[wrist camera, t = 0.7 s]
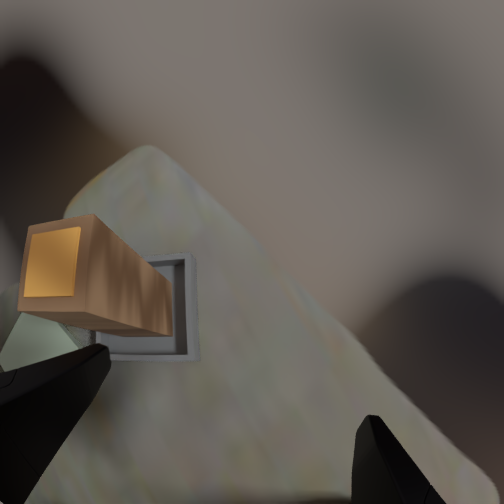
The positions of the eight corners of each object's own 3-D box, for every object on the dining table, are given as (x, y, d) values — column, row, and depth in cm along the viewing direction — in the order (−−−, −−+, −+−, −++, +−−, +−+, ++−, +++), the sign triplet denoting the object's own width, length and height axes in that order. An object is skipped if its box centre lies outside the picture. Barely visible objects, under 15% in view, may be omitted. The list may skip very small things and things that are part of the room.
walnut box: (173, 336, 23) (82, 310, 11) (124, 337, 23) (14, 309, 11) (171, 283, 25) (92, 212, 12) (124, 286, 25) (26, 224, 12)
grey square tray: (200, 360, 23) (194, 361, 21) (107, 359, 23) (96, 359, 21) (196, 259, 26) (190, 252, 24) (109, 267, 26) (98, 260, 24)
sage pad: (95, 360, 23) (89, 360, 22) (51, 428, 20) (46, 429, 19) (39, 294, 25) (34, 292, 24) (3, 360, 23) (-3, 359, 22)
